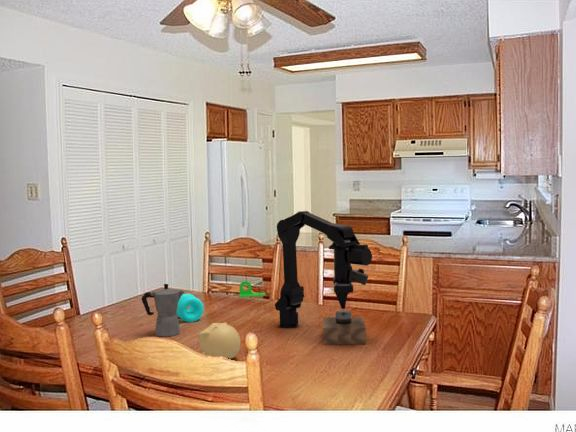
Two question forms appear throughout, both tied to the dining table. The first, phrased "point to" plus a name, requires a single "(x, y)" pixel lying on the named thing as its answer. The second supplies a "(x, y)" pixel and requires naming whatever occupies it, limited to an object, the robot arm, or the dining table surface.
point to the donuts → (193, 311)
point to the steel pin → (343, 317)
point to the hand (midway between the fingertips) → (343, 308)
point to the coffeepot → (165, 310)
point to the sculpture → (220, 340)
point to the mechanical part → (248, 291)
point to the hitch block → (344, 331)
